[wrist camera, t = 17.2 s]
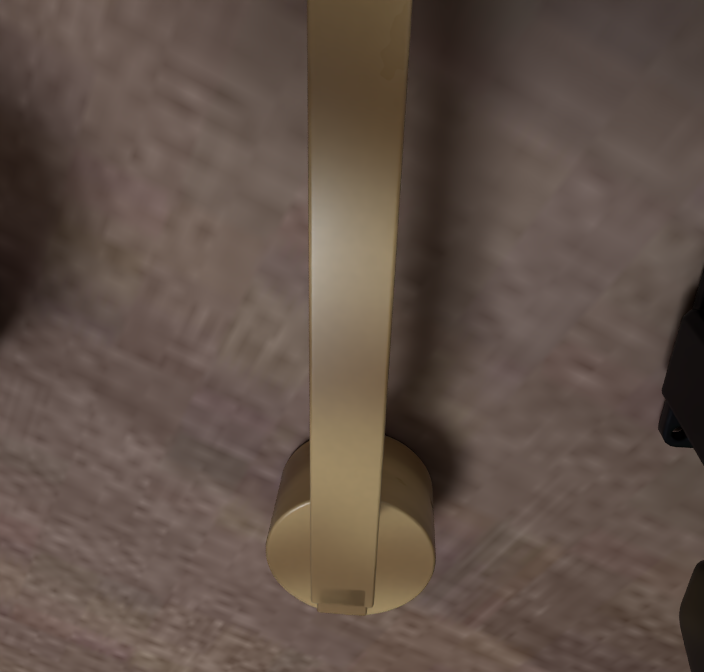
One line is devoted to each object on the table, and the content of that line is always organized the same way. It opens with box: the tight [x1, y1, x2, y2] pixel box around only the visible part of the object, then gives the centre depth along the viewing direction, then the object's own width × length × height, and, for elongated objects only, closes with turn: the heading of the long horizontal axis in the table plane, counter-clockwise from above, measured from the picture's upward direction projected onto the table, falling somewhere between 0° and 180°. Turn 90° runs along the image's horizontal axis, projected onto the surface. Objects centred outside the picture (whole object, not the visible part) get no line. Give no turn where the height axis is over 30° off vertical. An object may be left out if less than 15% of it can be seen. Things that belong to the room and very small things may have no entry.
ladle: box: [266, 0, 436, 616], centre depth 16 cm, size 18×5×6 cm, turn 178°
